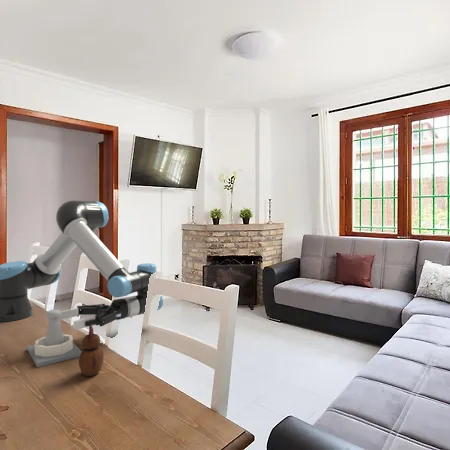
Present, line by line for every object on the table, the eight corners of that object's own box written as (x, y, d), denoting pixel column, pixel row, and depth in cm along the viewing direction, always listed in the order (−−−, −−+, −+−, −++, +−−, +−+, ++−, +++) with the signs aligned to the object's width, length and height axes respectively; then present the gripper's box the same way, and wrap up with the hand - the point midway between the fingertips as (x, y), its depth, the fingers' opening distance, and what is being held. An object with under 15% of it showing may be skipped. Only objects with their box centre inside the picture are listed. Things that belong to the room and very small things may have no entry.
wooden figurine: (93, 380, 95) (93, 326, 94) (75, 377, 96) (74, 325, 95) (107, 368, 101) (106, 319, 100) (89, 366, 102) (89, 317, 102)
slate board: (27, 349, 114) (27, 346, 114) (68, 340, 122) (68, 337, 122) (37, 367, 102) (36, 363, 101) (82, 355, 110) (82, 352, 110)
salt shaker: (57, 353, 108) (56, 313, 108) (40, 352, 109) (40, 312, 109) (67, 346, 114) (67, 308, 114) (51, 345, 115) (51, 307, 114)
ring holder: (54, 340, 119) (54, 332, 119) (80, 345, 115) (79, 336, 115) (27, 353, 108) (26, 344, 108) (54, 358, 105) (53, 349, 105)
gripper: (141, 326, 120) (81, 342, 105) (109, 310, 138) (53, 322, 123) (141, 305, 120) (80, 318, 105) (109, 292, 137) (53, 301, 122)
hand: (66, 320), depth 114 cm, fingers open, 13 cm apart
